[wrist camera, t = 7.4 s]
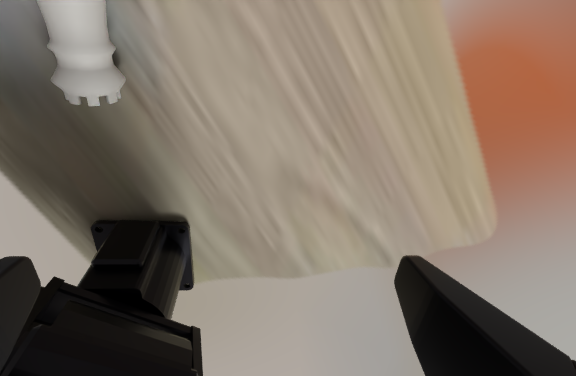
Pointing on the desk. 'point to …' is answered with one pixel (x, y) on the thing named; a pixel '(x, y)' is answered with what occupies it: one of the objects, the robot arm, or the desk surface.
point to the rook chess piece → (82, 50)
